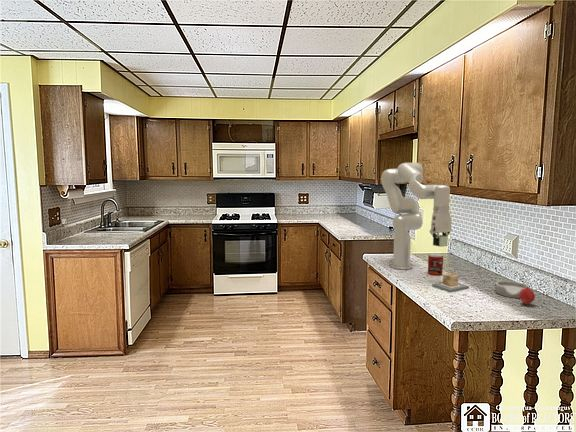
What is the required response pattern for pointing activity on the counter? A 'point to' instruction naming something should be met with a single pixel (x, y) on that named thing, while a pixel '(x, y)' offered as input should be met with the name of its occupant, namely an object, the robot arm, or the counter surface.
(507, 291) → the dish
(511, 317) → the counter surface
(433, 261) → the canned food
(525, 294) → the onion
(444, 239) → the sage block
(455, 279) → the oak block
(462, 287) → the build board
